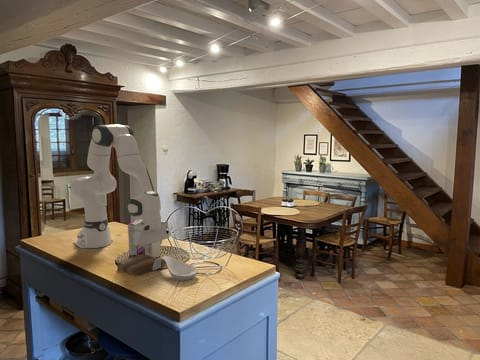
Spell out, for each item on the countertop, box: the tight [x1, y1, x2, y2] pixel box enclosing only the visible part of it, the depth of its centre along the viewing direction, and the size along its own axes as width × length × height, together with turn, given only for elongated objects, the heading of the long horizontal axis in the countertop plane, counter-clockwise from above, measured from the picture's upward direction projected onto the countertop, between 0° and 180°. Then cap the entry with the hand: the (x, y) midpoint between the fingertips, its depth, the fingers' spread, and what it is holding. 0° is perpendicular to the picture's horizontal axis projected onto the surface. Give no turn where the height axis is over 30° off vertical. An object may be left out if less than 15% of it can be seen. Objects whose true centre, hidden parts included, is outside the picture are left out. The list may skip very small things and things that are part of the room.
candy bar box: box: [127, 218, 145, 256], centre depth 187 cm, size 11×5×16 cm, turn 168°
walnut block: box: [116, 253, 163, 277], centre depth 165 cm, size 14×14×4 cm
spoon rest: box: [152, 255, 199, 281], centre depth 157 cm, size 24×12×7 cm, turn 55°
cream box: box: [145, 241, 161, 258], centre depth 181 cm, size 5×5×8 cm
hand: (152, 250), depth 181 cm, fingers open, 5 cm apart
